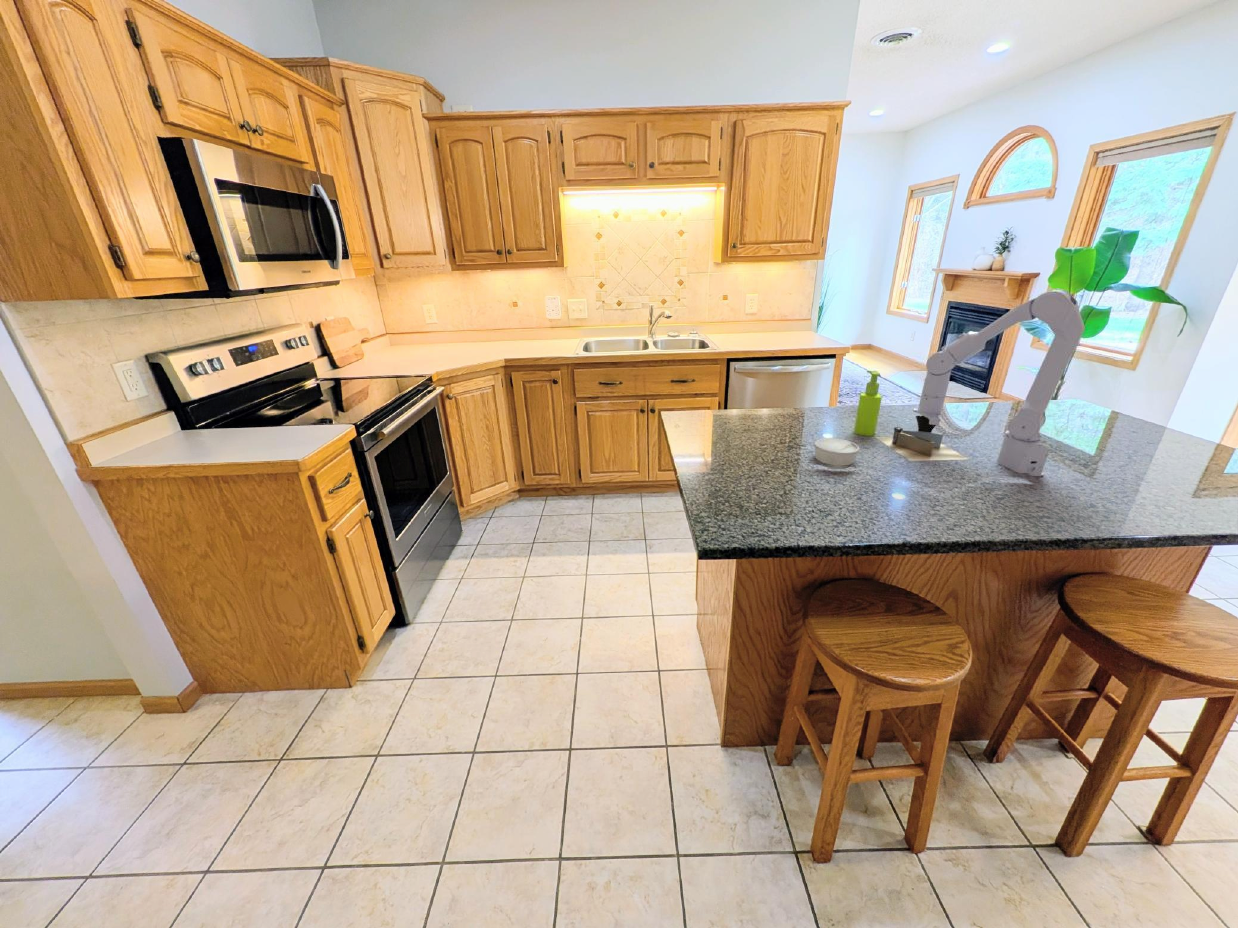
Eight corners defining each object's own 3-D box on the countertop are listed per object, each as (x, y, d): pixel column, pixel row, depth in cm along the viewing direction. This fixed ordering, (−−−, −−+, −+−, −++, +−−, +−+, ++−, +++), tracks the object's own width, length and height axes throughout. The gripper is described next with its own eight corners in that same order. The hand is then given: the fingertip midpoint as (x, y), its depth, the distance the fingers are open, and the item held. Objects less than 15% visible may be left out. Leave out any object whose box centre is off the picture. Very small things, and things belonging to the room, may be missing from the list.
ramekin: (860, 472, 130) (864, 453, 128) (815, 469, 132) (818, 451, 130) (851, 456, 140) (854, 438, 138) (809, 454, 142) (811, 437, 140)
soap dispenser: (868, 431, 158) (880, 369, 150) (877, 439, 152) (889, 374, 144) (849, 431, 159) (860, 369, 151) (857, 439, 152) (868, 374, 145)
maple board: (968, 463, 133) (969, 459, 133) (909, 464, 133) (910, 460, 133) (926, 439, 151) (927, 435, 150) (874, 440, 151) (874, 437, 150)
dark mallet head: (888, 443, 145) (892, 428, 143) (894, 441, 146) (897, 426, 144) (929, 456, 135) (933, 440, 133) (935, 455, 136) (939, 439, 134)
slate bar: (899, 443, 145) (902, 430, 143) (899, 442, 145) (902, 429, 144) (939, 447, 140) (943, 434, 139) (939, 447, 141) (942, 433, 140)
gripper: (912, 387, 145) (902, 431, 151) (922, 401, 133) (911, 448, 138) (940, 389, 143) (929, 433, 148) (952, 403, 131) (940, 451, 136)
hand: (922, 441), depth 143 cm, fingers closed, pressing on slate bar
